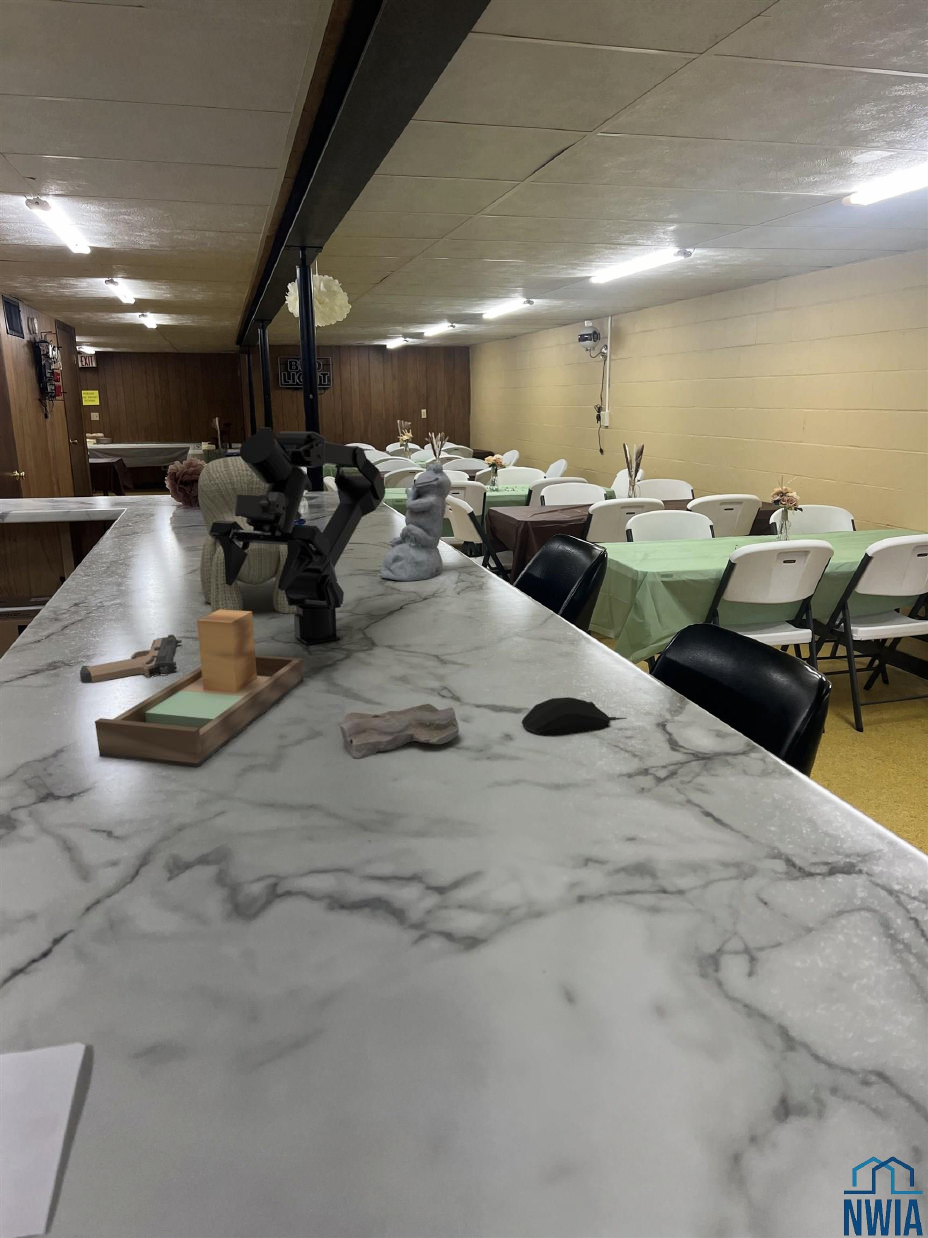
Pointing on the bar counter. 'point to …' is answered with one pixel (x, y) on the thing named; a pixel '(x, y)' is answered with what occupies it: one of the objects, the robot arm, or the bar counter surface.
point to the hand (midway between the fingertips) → (253, 587)
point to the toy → (219, 503)
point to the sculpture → (420, 529)
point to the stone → (397, 729)
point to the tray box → (190, 744)
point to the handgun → (136, 663)
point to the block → (227, 650)
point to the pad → (190, 709)
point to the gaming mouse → (565, 717)
